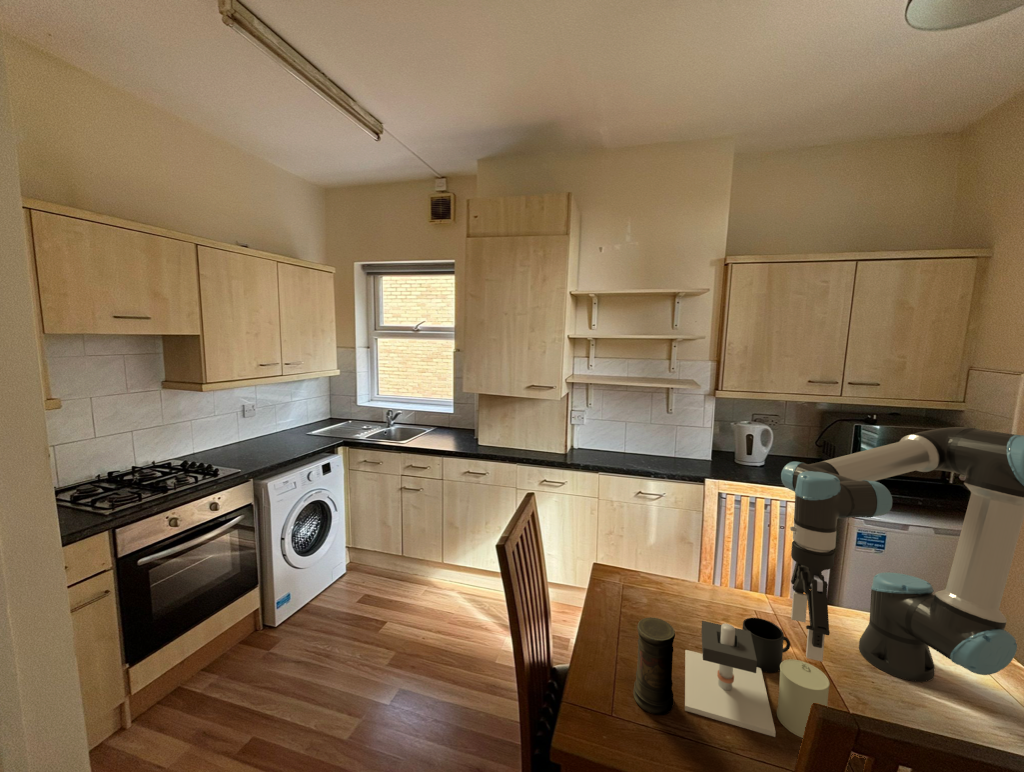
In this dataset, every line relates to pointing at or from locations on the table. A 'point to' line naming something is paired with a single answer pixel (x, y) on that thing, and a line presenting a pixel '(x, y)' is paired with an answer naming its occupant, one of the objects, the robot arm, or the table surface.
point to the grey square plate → (728, 648)
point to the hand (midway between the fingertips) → (805, 638)
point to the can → (799, 693)
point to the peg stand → (727, 691)
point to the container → (654, 666)
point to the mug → (766, 643)
